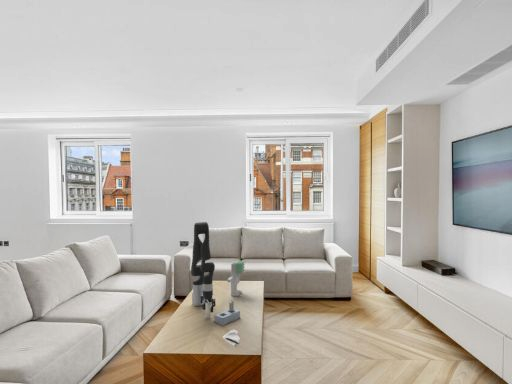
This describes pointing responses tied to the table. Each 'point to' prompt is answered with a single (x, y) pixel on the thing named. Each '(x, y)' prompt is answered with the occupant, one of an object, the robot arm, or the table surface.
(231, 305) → the grey peg
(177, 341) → the table surface
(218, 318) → the hole block
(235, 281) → the toy
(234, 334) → the cloth
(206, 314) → the cream peg
